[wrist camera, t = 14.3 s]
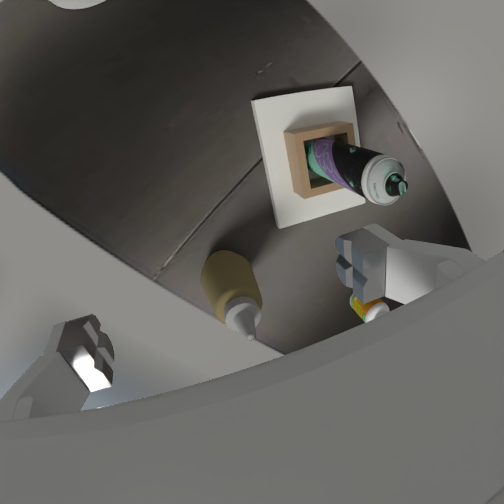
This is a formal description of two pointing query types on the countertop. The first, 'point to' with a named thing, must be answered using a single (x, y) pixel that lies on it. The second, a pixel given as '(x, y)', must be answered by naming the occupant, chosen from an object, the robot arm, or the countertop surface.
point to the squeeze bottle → (232, 291)
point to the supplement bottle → (369, 308)
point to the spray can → (357, 169)
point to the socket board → (293, 153)
